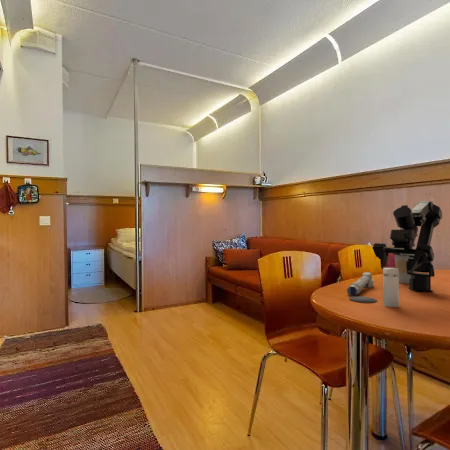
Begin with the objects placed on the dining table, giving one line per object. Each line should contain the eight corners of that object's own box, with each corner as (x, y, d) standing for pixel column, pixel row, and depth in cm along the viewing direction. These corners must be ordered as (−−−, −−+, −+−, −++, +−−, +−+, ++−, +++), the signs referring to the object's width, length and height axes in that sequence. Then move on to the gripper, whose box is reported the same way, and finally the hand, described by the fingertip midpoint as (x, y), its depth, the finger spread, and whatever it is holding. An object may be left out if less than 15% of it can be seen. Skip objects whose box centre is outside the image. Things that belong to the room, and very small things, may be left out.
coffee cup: (421, 284, 138) (421, 250, 138) (400, 284, 138) (399, 251, 138) (408, 280, 147) (408, 249, 147) (389, 280, 148) (388, 249, 147)
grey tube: (344, 285, 119) (362, 268, 139) (345, 301, 120) (363, 283, 139) (358, 287, 116) (375, 269, 135) (359, 304, 117) (375, 284, 136)
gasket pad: (370, 297, 115) (370, 296, 115) (380, 303, 106) (380, 302, 106) (346, 296, 116) (345, 295, 116) (354, 302, 107) (354, 302, 107)
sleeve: (394, 304, 105) (394, 267, 105) (401, 307, 101) (401, 269, 101) (380, 303, 106) (380, 267, 106) (386, 307, 101) (386, 269, 101)
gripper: (374, 221, 117) (361, 252, 110) (431, 221, 103) (421, 256, 96) (382, 241, 122) (370, 272, 115) (438, 243, 109) (429, 278, 101)
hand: (395, 269), depth 107 cm, fingers open, 9 cm apart
